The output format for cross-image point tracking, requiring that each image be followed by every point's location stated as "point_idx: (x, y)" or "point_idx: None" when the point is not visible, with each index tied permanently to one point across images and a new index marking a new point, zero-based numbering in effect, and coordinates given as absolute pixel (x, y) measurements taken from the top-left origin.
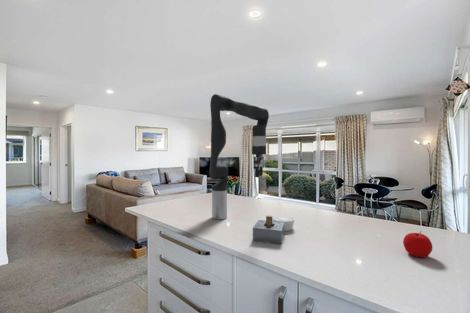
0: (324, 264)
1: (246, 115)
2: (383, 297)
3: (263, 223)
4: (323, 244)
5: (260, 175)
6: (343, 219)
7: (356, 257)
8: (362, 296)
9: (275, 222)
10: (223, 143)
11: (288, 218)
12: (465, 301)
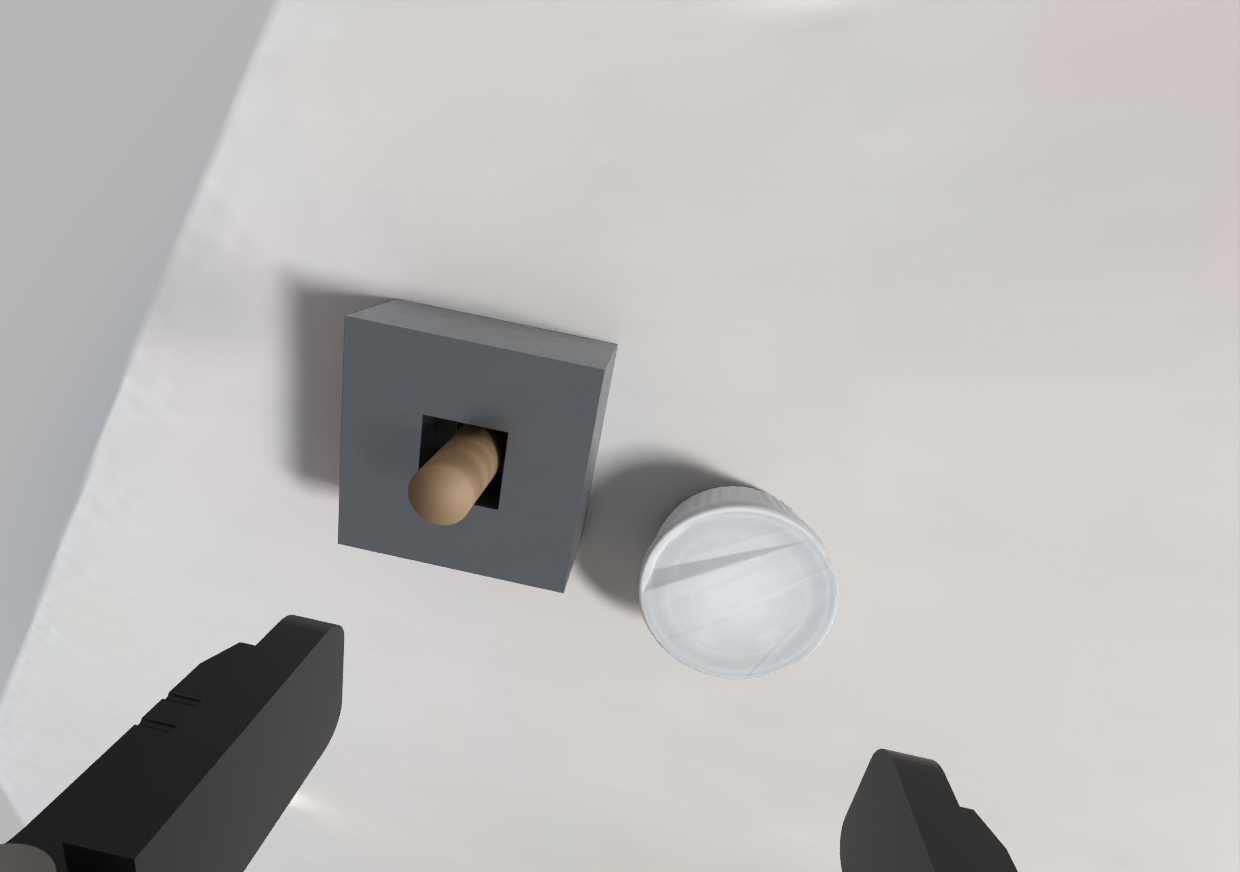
0: (195, 657)
1: None
2: (29, 754)
3: (494, 414)
4: (445, 721)
5: (856, 797)
6: None
7: (319, 801)
8: (4, 701)
9: (544, 521)
10: None
11: (748, 639)
12: None
